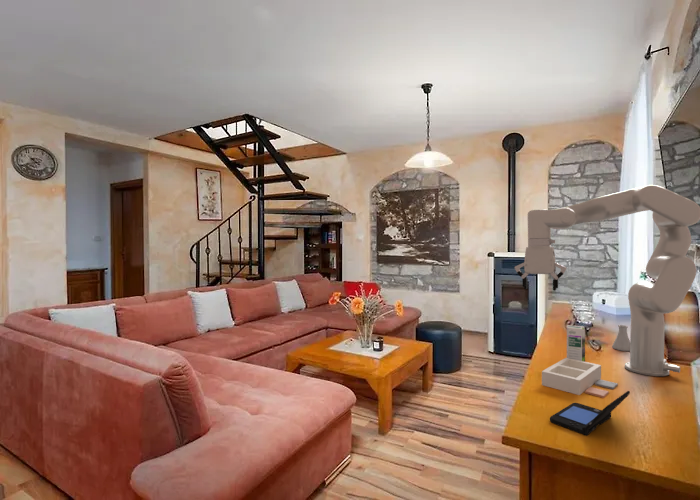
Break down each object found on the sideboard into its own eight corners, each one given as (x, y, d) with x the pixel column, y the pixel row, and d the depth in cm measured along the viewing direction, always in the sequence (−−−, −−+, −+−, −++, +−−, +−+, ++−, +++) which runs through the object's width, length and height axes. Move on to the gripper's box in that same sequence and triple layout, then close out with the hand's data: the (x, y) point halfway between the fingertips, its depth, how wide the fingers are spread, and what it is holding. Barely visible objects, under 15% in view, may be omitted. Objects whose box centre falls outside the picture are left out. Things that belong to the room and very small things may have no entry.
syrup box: (566, 366, 142) (567, 327, 142) (566, 362, 147) (566, 324, 147) (585, 368, 139) (585, 329, 139) (583, 364, 145) (584, 325, 144)
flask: (637, 351, 160) (637, 327, 159) (619, 351, 160) (620, 327, 160) (625, 346, 167) (625, 323, 167) (608, 346, 167) (608, 323, 167)
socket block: (620, 382, 126) (620, 369, 126) (600, 400, 112) (600, 385, 112) (565, 370, 138) (565, 357, 138) (541, 385, 125) (541, 371, 125)
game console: (574, 406, 109) (574, 374, 109) (631, 425, 98) (632, 390, 98) (547, 422, 100) (547, 388, 100) (607, 445, 89) (607, 406, 89)
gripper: (567, 242, 140) (567, 289, 141) (516, 243, 150) (517, 287, 151) (564, 243, 134) (565, 292, 135) (512, 244, 144) (512, 289, 145)
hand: (540, 289), depth 143 cm, fingers open, 9 cm apart
